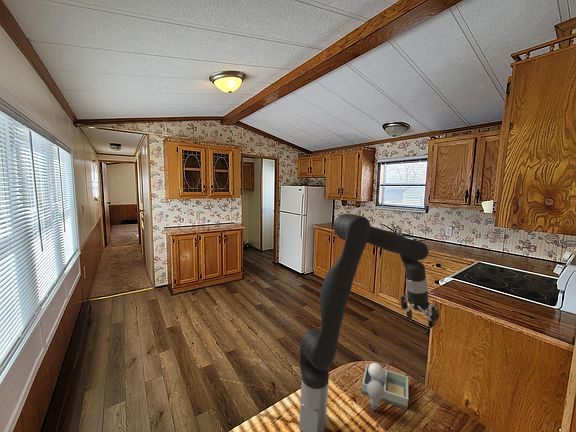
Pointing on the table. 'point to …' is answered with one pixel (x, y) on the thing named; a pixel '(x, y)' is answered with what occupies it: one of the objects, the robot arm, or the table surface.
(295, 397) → the table surface
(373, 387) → the lightbulb
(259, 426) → the table surface
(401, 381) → the tray
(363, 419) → the table surface
